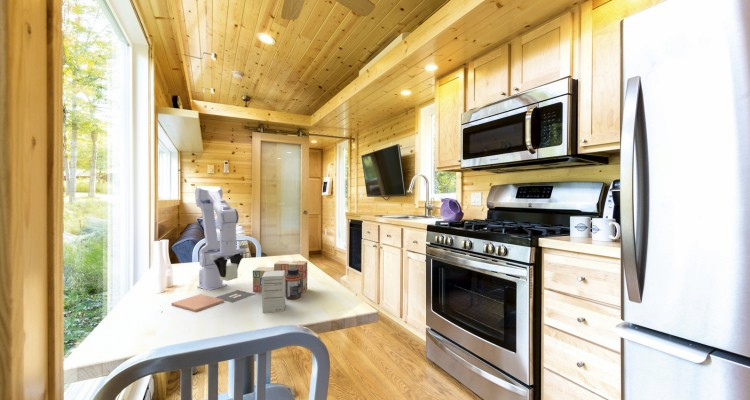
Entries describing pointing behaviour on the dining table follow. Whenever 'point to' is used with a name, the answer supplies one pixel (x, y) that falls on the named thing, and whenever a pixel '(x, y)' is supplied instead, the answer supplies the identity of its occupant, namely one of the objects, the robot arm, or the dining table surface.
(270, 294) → the supplement box
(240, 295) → the mat
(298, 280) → the supplement bottle
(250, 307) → the dining table surface
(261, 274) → the stack of blocks
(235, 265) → the sage block
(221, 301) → the plate
